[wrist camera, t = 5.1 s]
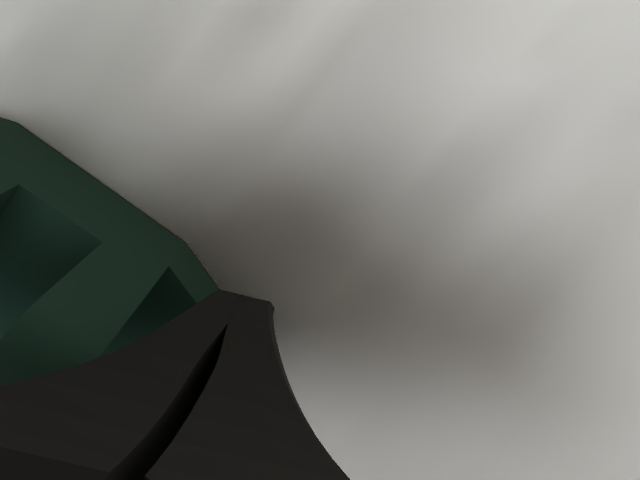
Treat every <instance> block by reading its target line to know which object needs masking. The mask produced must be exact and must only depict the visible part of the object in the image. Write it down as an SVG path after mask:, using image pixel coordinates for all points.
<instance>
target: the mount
mask: <svg viewBox="0 0 640 480" xmlns="http://www.w3.org/2000/svg"><path fill="white" fill-rule="evenodd" d="M217 290H219V288H218V287H217V285H216V284H215V283H214V281H213V280H212V278H211V277H210V276H209V274H208V273H207V271H206V270H205V269H204V267H203V266H202V264H201V263H200V262H199V260H198V259H197V258H196V256H195V255H194V253H193V252H192V251H191V249H190V248H189V246H188V245H187V244H186V243H185V242H184V241H182V240H181V239H180V238H178V237H177V236H175V235H174V234H173V233H171V232H170V231H168V230H167V229H166V228H164V227H163V226H161V225H160V224H159V223H157V222H156V221H154V220H153V219H151V218H150V217H149V216H147V215H146V214H144V213H143V212H142V211H140V210H139V209H137V208H136V207H135V206H133V205H132V204H130V203H129V202H128V201H126V200H125V199H123V198H122V197H120V196H119V195H118V194H116V193H115V192H113V191H112V190H111V189H109V188H108V187H106V186H105V185H104V184H102V183H101V182H99V181H98V180H97V179H95V178H94V177H92V176H91V175H90V174H88V173H87V172H85V171H84V170H82V169H81V168H80V167H78V166H77V165H75V164H74V163H73V162H71V161H70V160H68V159H67V158H66V157H64V156H63V155H61V154H60V153H59V152H57V151H56V150H54V149H53V148H51V147H50V146H49V145H47V144H46V143H44V142H43V141H42V140H40V139H39V138H37V137H36V136H35V135H33V134H32V133H30V132H29V131H28V130H26V129H25V128H23V127H22V126H21V125H19V124H18V123H15V122H12V121H9V120H5V119H2V118H0V386H2V385H7V384H12V383H16V382H20V381H25V380H29V379H33V378H37V377H40V376H44V375H47V374H50V373H53V372H57V371H60V370H63V369H66V368H69V367H73V366H76V365H79V364H82V363H85V362H88V361H91V360H93V359H96V358H98V357H101V356H103V355H106V354H108V353H111V352H113V351H115V350H118V349H120V348H122V347H124V346H126V345H129V344H131V343H133V342H134V341H136V340H138V339H140V338H142V337H144V336H146V335H147V334H149V333H151V332H153V331H155V330H157V329H158V328H160V327H162V326H163V325H165V324H166V323H168V322H170V321H171V320H173V319H174V318H176V317H178V316H179V315H181V314H182V313H184V312H185V311H187V310H188V309H190V308H191V307H193V306H194V305H196V304H197V303H199V302H200V301H201V300H203V299H204V298H206V297H207V296H209V295H210V294H211V293H213V292H215V291H217Z"/></svg>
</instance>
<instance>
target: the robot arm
mask: <svg viewBox="0 0 640 480" xmlns="http://www.w3.org/2000/svg"><path fill="white" fill-rule="evenodd" d="M273 312H274V307H273V305H272V304H271V302H269V301H265V300H260V299H256V298H252V297H248V296H243V295H239V294H235V293H231V292H226V291H222V290H217V291H215V292H213V293H211V294H210V295H209V296H207V297H206V298H204V299H203V300H201V301H200V302H199V303H197V304H196V305H194V306H193V307H191V308H190V309H188V310H187V311H185V312H184V313H182V314H181V315H179V316H178V317H176V318H174V319H173V320H171V321H170V322H168V323H166V324H165V325H163V326H162V327H160V328H158V329H157V330H155V331H153V332H151V333H149V334H147V335H146V336H144V337H142V338H140V339H138V340H136V341H134V342H133V343H131V344H129V345H126V346H124V347H122V348H120V349H118V350H115V351H113V352H111V353H108V354H106V355H103V356H101V357H98V358H96V359H93V360H91V361H88V362H85V363H82V364H79V365H76V366H73V367H69V368H66V369H63V370H60V371H57V372H53V373H50V374H47V375H44V376H40V377H37V378H33V379H29V380H25V381H20V382H16V383H12V384H7V385H2V386H0V480H350V479H349V478H348V477H347V475H346V474H345V473H344V472H343V471H342V470H341V468H340V467H339V466H338V465H337V464H336V463H335V461H334V460H333V459H332V458H331V456H330V455H329V454H328V452H327V451H326V449H325V448H324V447H323V445H322V444H321V442H320V441H319V439H318V438H317V437H316V435H315V434H314V432H313V430H312V429H311V427H310V425H309V423H308V422H307V420H306V418H305V416H304V414H303V413H302V411H301V409H300V407H299V405H298V403H297V401H296V398H295V396H294V394H293V392H292V389H291V387H290V384H289V382H288V379H287V376H286V373H285V371H284V368H283V364H282V361H281V358H280V354H279V350H278V346H277V342H276V337H275V331H274V323H273Z"/></svg>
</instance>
